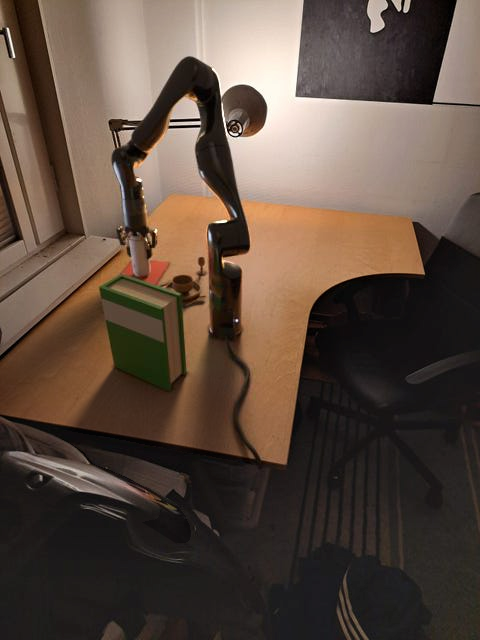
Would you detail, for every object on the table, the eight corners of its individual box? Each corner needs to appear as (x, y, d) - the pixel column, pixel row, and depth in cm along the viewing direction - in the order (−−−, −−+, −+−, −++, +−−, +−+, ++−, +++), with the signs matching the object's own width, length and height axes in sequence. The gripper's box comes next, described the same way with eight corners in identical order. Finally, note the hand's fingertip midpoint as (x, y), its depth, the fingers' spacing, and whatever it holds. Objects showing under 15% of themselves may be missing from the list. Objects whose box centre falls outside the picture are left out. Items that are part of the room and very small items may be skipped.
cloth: (152, 290, 141) (152, 289, 141) (112, 286, 143) (112, 285, 142) (169, 263, 157) (169, 262, 157) (133, 260, 159) (133, 259, 159)
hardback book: (186, 373, 108) (181, 293, 94) (169, 391, 103) (160, 309, 89) (133, 351, 115) (121, 273, 101) (114, 366, 110) (99, 287, 96)
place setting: (153, 287, 143) (152, 271, 140) (201, 270, 154) (201, 255, 150) (182, 309, 132) (181, 293, 129) (232, 289, 143) (232, 274, 139)
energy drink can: (134, 269, 152) (129, 230, 143) (151, 269, 152) (147, 230, 144) (132, 278, 147) (126, 238, 138) (150, 277, 148) (145, 238, 139)
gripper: (108, 212, 134) (116, 260, 144) (152, 216, 133) (157, 263, 142) (117, 204, 140) (124, 250, 150) (159, 207, 139) (163, 254, 148)
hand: (140, 256), depth 146 cm, fingers closed on energy drink can, 6 cm apart
